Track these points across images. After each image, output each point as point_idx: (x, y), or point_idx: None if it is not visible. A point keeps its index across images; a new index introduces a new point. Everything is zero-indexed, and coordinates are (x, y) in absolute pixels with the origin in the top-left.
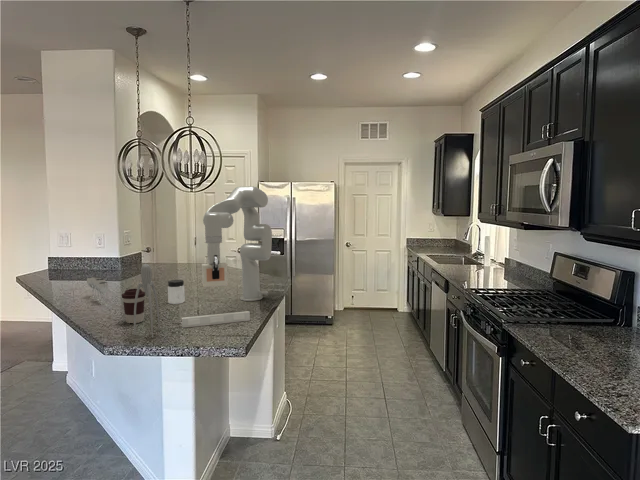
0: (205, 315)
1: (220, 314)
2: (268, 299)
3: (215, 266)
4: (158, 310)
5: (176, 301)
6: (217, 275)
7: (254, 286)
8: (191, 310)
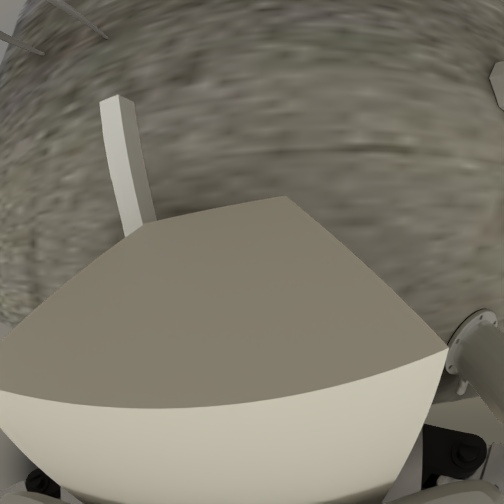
0: (135, 204)
1: None
2: None
3: (24, 484)
4: (63, 10)
5: (497, 83)
6: None
7: (474, 383)
8: (409, 121)
